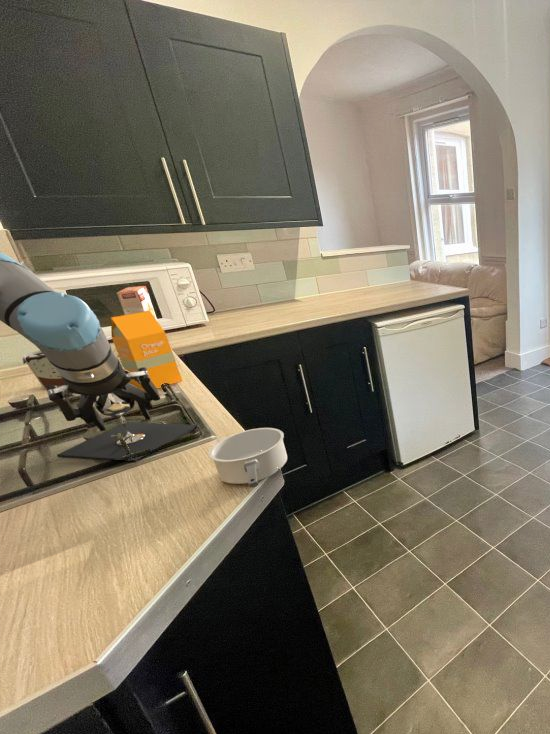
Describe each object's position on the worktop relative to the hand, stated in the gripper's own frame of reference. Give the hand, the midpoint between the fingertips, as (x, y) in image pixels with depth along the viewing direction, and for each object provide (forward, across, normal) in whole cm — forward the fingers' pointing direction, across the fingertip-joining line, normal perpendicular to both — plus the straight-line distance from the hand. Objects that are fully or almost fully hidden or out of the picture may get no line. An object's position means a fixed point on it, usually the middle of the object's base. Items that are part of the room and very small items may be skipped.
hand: (124, 419), depth 88 cm
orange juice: (+27, +6, +21) cm, 35 cm away
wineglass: (0, 0, -5) cm, 5 cm away
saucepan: (-24, +16, -30) cm, 42 cm away
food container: (+42, -13, +36) cm, 57 cm away
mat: (0, 0, -5) cm, 5 cm away
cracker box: (+62, +8, +56) cm, 84 cm away
